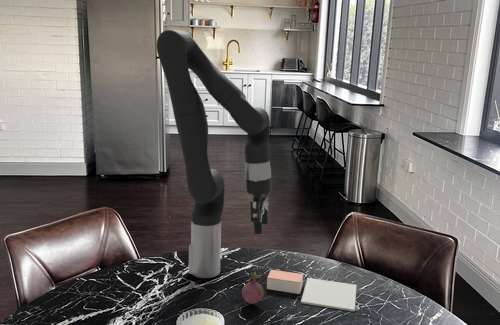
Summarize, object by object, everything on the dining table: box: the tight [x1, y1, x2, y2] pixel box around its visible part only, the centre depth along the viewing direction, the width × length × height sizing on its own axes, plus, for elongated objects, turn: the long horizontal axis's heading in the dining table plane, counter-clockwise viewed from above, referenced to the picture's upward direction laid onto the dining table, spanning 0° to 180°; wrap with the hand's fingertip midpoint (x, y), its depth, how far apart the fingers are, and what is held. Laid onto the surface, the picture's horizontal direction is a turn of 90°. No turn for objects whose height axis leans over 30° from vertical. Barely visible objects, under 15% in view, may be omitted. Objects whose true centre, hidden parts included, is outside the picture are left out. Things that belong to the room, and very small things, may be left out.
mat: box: [300, 277, 358, 312], centre depth 141 cm, size 15×15×1 cm
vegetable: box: [241, 271, 265, 305], centre depth 133 cm, size 6×6×10 cm
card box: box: [266, 269, 304, 295], centre depth 144 cm, size 10×6×4 cm, turn 76°
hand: (261, 228), depth 144 cm, fingers open, 8 cm apart
